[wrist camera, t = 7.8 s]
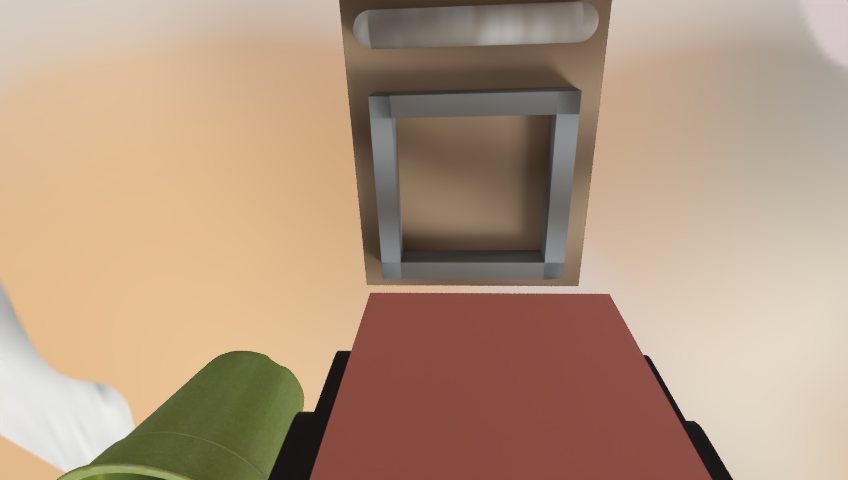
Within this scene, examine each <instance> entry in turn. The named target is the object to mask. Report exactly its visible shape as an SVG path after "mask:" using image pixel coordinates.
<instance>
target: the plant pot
mask: <svg viewBox="0 0 848 480" xmlns="http://www.w3.org/2000/svg"><path fill="white" fill-rule="evenodd" d="M303 406H304V394H303V390H302V388H301V386H300V384H299V382H298V380H297V378H296V377H295V376H294V374H293V373H292V372H291V371H290V370H289V369H287V368H286V367H283V366H280V365H278V364H277V363H275V362H274V361H272V360H271V359H270V358H269V357H268V356H266V355H263V354H260V353H256V352H251V351H233V352H229V353H225V354H222V355H220V356H218V357H216V358H215V359H213V360H212V361H211V362H210V363H208V364H207V365H206V366H205V367H204V368H203V369H202V370H200V371H199V372H198V373H197V374H196V375H195V376H194V377H193V378H191V379H190V380H189V381H188V382H187V383H186V384H185V385H184V386H183V387H182V388H181V389H179V390H178V391H177V392H176V393H175V394H174V395H173V396H171V397H170V398H169V399H168V400H167V401H166V402H165V403H164V404H163V405H161V406H160V407H159V408H158V409H157V410H156V411H155V412H154V413H153V414H151V415H150V416H149V417H148V418H147V419H146V420H145V421H143V422H142V423H141V424H140V425H139V426H138V427H137V428H136V429H135V430H133V431H132V432H131V433H130V434H129V435H128V436H127V437H125V438H124V439H122V440H120V441H118V442H116V443H114V444H113V445H112V446H110V447H109V448H108V449H106V450H105V451H104V452H103V453H102V454H101V455H99V456H98V457H97V458H96V459H95V460H94V461H92V462H91V463H90V464H89V465H86V466H82V467H79V468H76V469H74V470H72V471H70V472H68V473H66V474H64V475H63V476H61V477H60V478H58V479H57V480H268V478H269V475H270V473H271V470H272V468H273V466H274V463H275V461H276V459H277V456H278V454H279V451H280V449H281V447H282V444H283V442H284V439H285V437H286V435H287V432H288V430H289V427H290V425H291V423H292V420H293V418H294V417H295V415H296V414H297V413H298V412H303Z"/></svg>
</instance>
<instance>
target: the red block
mask: <svg viewBox="0 0 848 480" xmlns="http://www.w3.org/2000/svg"><path fill="white" fill-rule="evenodd" d="M310 480H712V478H711V477H710V475H709V473H708V471H707V469H706V468H705V466H704V464H703V462H702V460H701V459H700V457H699V455H698V453H697V451H696V450H695V448H694V446H693V444H692V442H691V441H690V439H689V437H688V435H687V433H686V432H685V430H684V428H683V426H682V424H681V423H680V421H679V419H678V417H677V415H676V414H675V412H674V410H673V408H672V406H671V405H670V403H669V401H668V399H667V397H666V396H665V394H664V392H663V390H662V388H661V386H660V385H659V383H658V381H657V379H656V377H655V376H654V374H653V372H652V370H651V368H650V367H649V365H648V363H647V361H646V359H645V358H644V356H643V354H642V352H641V351H640V349H639V347H638V345H637V343H636V341H635V340H634V338H633V336H632V334H631V332H630V331H629V329H628V327H627V325H626V323H625V322H624V320H623V318H622V316H621V315H620V313H619V311H618V309H617V307H616V305H615V304H614V302H613V300H612V298H611V296H610V295H609V294H491V293H489V294H488V293H486V294H485V293H480V294H479V293H370V296H369V299H368V302H367V305H366V308H365V311H364V314H363V317H362V320H361V323H360V326H359V329H358V333H357V335H356V339H355V342H354V345H353V348H352V351H351V354H350V357H349V360H348V363H347V366H346V369H345V372H344V375H343V378H342V381H341V385H340V388H339V391H338V394H337V397H336V400H335V403H334V406H333V409H332V412H331V415H330V418H329V421H328V424H327V427H326V431H325V434H324V437H323V440H322V443H321V446H320V449H319V452H318V455H317V458H316V461H315V464H314V467H313V470H312V473H311V477H310Z"/></svg>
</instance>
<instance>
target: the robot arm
mask: <svg viewBox="0 0 848 480" xmlns="http://www.w3.org/2000/svg"><path fill="white" fill-rule="evenodd" d="M350 354H351V351H337V353H336V355H335V357H334V360H333V363H332V365H331V368H330V371H329V374H328V376H327V379H326V382H325V384H324V387H323V390H322V392H321V395H320V398H319V401H318V403H317V406H316V409H315V411H314V412H298V413H297V414H296V415H295V417H294V418H293V420H292V423H291V425H290V427H289V430H288V432H287V435H286V437H285V439H284V442H283V444H282V447H281V449H280V451H279V454H278V456H277V459H276V461H275V463H274V466H273V468H272V470H271V473H270V475H269V478H268V480H310V477H311V473H312V470H313V467H314V464H315V461H316V458H317V455H318V452H319V449H320V446H321V443H322V440H323V437H324V434H325V431H326V427H327V424H328V421H329V418H330V415H331V412H332V409H333V406H334V403H335V400H336V397H337V394H338V391H339V388H340V385H341V381H342V378H343V375H344V372H345V369H346V366H347V363H348V360H349V357H350ZM643 356H644V358H645V359H646V361H647V363H648V365H649V367H650V368H651V370H652V372H653V374H654V376H655V377H656V379H657V381H658V383H659V385H660V386H661V388H662V390H663V392H664V394H665V396H666V397H667V399H668V401H669V403H670V405H671V406H672V408H673V410H674V412H675V414H676V415H677V417H678V419H679V421H680V423H681V424H682V426H683V428H684V430H685V432H686V433H687V435H688V437H689V439H690V441H691V442H692V444H693V446H694V448H695V450H696V451H697V453H698V455H699V457H700V459H701V460H702V462H703V464H704V466H705V468H706V469H707V471H708V473H709V475H710V477H711V478H712V480H733V479H732V477H731V476H730V474H729V472H728V471H727V469H726V467H725V466H724V464H723V462H722V461H721V459H720V457H719V456H718V454H717V452H716V451H715V449H714V447H713V446H712V444H711V442H710V441H709V439H708V437H707V436H706V434H705V432H704V431H703V429H702V428H701V427H700V426H699V424H697V423H696V422H694V421H686V420H685V418H684V416H683V415H682V413H681V411H680V409H679V408H678V406H677V404H676V402H675V401H674V399H673V397H672V395H671V394H670V392H669V390H668V388H667V387H666V385H665V383H664V381H663V380H662V378H661V376H660V374H659V373H658V371H657V369H656V367H655V366H654V364H653V362H652V361H651V359H650V358H649V356H647V355H643Z"/></svg>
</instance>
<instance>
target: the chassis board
mask: <svg viewBox="0 0 848 480" xmlns="http://www.w3.org/2000/svg"><path fill="white" fill-rule="evenodd" d="M339 3H340V13H341V23H342V33H343V43H344V54H345V64H346V75H347V84H348V95H349V105H350V115H351V126H352V136H353V146H354V157H355V167H356V177H357V188H358V198H359V208H360V217H361V229H362V239H363V249H364V260H365V270H366V279H367V285H471V286H474V285H475V286H485V285H486V286H578V283H579V275H580V267H581V258H582V250H583V241H584V232H585V224H586V215H587V207H588V199H589V190H590V182H591V173H592V165H593V156H594V148H595V139H596V131H597V122H598V114H599V105H600V95H601V88H602V79H603V71H604V62H605V54H606V45H607V36H608V28H609V20H610V11H611V3H612V0H339Z"/></svg>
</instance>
